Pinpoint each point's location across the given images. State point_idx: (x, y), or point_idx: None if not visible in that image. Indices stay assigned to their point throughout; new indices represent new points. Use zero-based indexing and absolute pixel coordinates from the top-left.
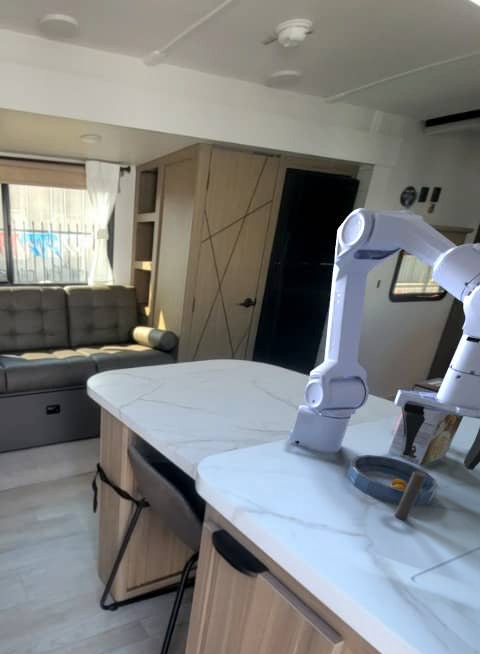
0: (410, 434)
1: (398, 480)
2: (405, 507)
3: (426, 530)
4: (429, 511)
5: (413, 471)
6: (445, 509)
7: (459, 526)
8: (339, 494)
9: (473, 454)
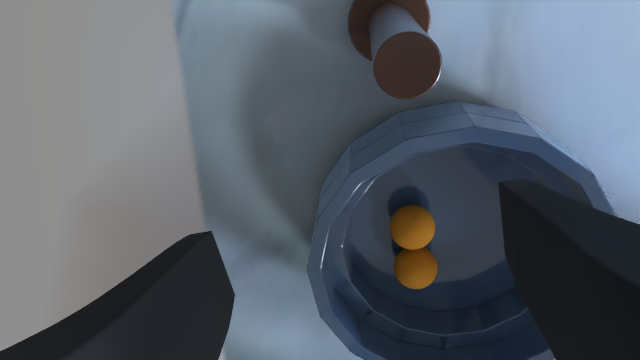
0: (613, 229)
1: (423, 271)
2: (393, 9)
3: (301, 61)
4: (308, 196)
5: (386, 348)
6: (271, 242)
7: (225, 166)
8: (596, 92)
9: (187, 301)
